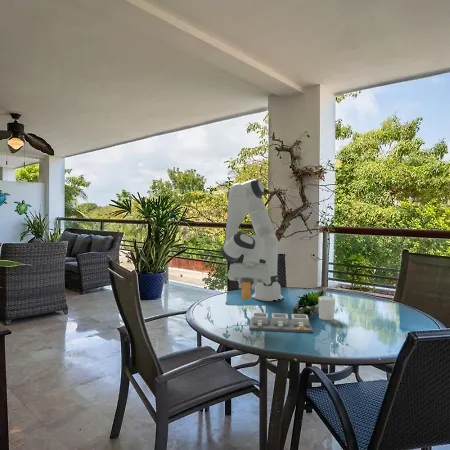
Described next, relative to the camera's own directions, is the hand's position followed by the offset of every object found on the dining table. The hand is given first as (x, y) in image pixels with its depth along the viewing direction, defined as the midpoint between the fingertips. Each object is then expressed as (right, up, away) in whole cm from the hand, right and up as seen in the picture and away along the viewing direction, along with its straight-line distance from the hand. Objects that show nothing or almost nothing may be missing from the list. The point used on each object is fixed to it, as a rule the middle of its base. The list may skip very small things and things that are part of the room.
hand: (246, 288), depth 163 cm
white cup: (+40, -17, +10) cm, 44 cm away
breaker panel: (+15, -17, -2) cm, 23 cm away
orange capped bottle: (0, -5, +1) cm, 5 cm away
